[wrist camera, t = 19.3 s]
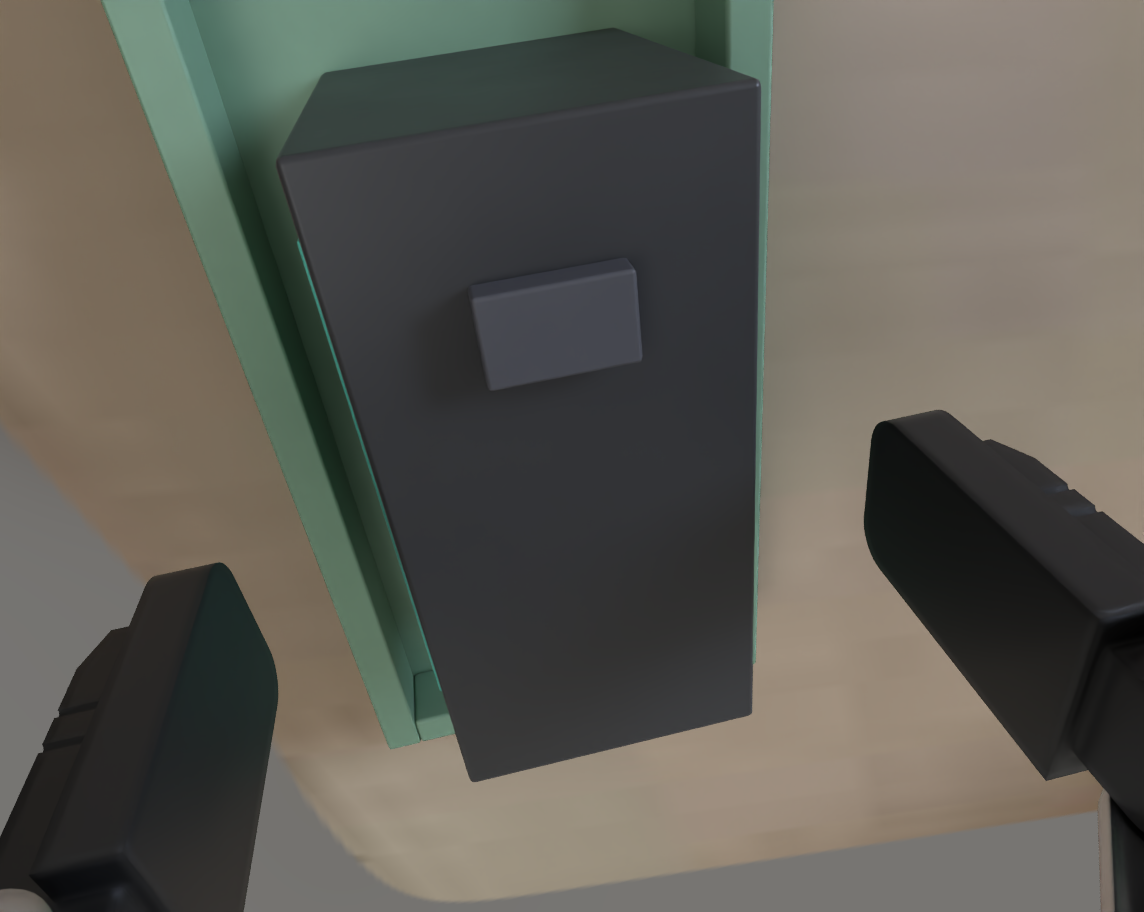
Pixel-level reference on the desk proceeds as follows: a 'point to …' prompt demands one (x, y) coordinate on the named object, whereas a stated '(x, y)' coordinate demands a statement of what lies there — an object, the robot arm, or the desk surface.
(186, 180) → the tray
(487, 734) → the grey tabbed box
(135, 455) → the desk surface
